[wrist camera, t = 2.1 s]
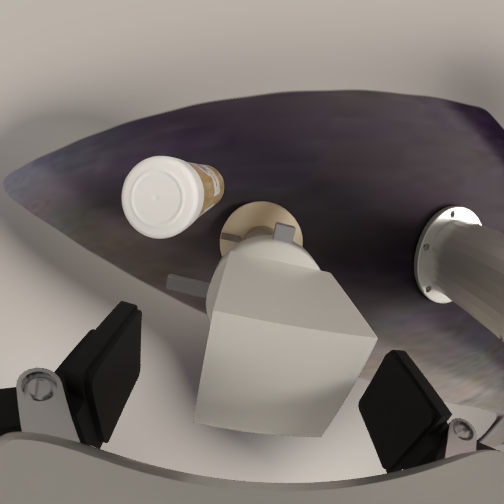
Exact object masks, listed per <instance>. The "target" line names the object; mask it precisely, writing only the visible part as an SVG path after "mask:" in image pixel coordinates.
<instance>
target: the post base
mask: <svg viewBox="0 0 504 504" xmlns="http://www.w3.org/2000/svg"><path fill="white" fill-rule="evenodd" d="M276 222H279V223H284V224H288V225H292V226H294V227H295V228H296V230H295V234H294V238H293V241H294V242H295V243H297V244H299V245H300V246H301V247H303V238H302V232H301V229H300V227H299V225H298V223H297V221H296V220H295V218H294V217H293V216H292V215H291V214H290V213H289V212H288V211H287V210H286V209H284V208H283V207H281V206H280V205H277V204H275V203H272V202H267V201H255V202H250V203H247V204H245V205H243V206H241V207H239V208H238V209H236V210H235V211H234V212H233V213H232V214H231V215H230V216H229V218H228V219H227V221H226V223H225V224H224V226H223V229H222V232H221V235H220V251H221V255H222V257H223V256H224V255H225V253H226V252H227V251H228V250H230V249H231V248H232V247H233V246H235V245H236V244H238V243H239V242H241V241H243V240H246V239H248V238H251V237H256V236H263V235H273V231H274V227H275V223H276Z"/></svg>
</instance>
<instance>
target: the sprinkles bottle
mask: <svg viewBox="0 0 504 504" xmlns="http://www.w3.org/2000/svg"><path fill="white" fill-rule="evenodd" d="M223 193H224V181H223V178H222V176H221V174H220V173H219V172H218V171H217V170H216V169H215V168H213V167H211V166H209V165H201V164H196V163H190V162H185V161H183V160H181V159H178V158H174V157H168V156H154V157H151V158H147V159H145V160H143V161H141V162H140V163H138V164H137V165H136V166H135V167H134V168H133V169H132V170H131V171H130V172H129V174H128V176H127V177H126V179H125V181H124V185H123V188H122V207H123V211H124V214H125V216H126V218H127V220H128V221H129V223H130V224H131V225H132V226H133V227H134V228H135V229H136V230H137V231H138V232H140V233H141V234H143V235H145V236H148V237H151V238H157V239H163V238H169V237H173V236H175V235H177V234H179V233H181V232H182V231H184V230H185V229H186V228H188V227H189V226H190V225H191V224H192V223H193V222H194V221H195V220H196V219H197V218H198V217H200V216H201V215H202V214H204V213H205V212H206V211H208V210H209V209H210V208H211V207H213V206H214V205H216V204H217V203H218V202H219V201H220V199H221V198H222V196H223Z"/></svg>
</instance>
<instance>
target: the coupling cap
mask: <svg viewBox="0 0 504 504" xmlns="http://www.w3.org/2000/svg"><path fill="white" fill-rule="evenodd" d="M295 230H296V228H295V227H294V226H292V225H288V224H284V223H279V222H276V223H275V227H274V231H273V235H263V236H256V237H251V238H248V239H246V240H243V241H241V242H239V243H238V244H236V245H235V246H233V247H232V248H231V249H230V250H228V251H227V252H226V253H225V255H224V256H223V257H222V258H221V260H220V262H219V263H218V265H217V267H216V270H215V272H214V275H213V277H212V280H211V283H208V282H204V281H200V280H195V279H191V278H187V277H183V276H178V275H174V274H169V275H168V276H167V282H166V289H168V290H172V291H176V292H180V293H184V294H188V295H192V296H196V297H201V298H205V299H206V311H207V316H208V319H209V322H210V330H209V335H208V341H207V346H206V351H205V357H204V362H203V368H202V374H201V380H200V386H199V392H198V397H197V403H196V409H195V415H194V423H199V424H203V425H208V426H213V427H219V428H225V429H231V430H238V431H244V432H252V433H260V434H270V435H281V436H297V437H321V436H322V435H323V433H324V432H325V430H326V429H327V428H328V426H329V424H330V423H331V421H332V420H333V418H334V417H335V415H336V414H337V412H338V411H339V409H340V407H341V406H342V404H343V402H344V401H345V399H346V397H347V396H348V394H349V392H350V391H351V389H352V387H353V385H354V384H355V382H356V380H357V378H358V376H359V375H360V373H361V371H362V369H363V367H364V365H365V363H366V361H367V359H368V358H369V356H370V354H371V352H372V350H373V348H374V345H375V343H376V341H377V339H378V338H377V336H376V335H375V333H374V332H373V330H372V329H371V328H370V326H369V325H368V323H367V322H366V321H365V319H364V318H363V316H362V315H361V314H360V312H359V311H358V309H357V308H356V307H355V305H354V304H353V302H352V301H351V300H350V298H349V297H348V296H347V294H346V293H345V292H344V290H343V289H342V288H341V286H340V285H339V283H338V282H337V281H336V279H335V278H334V277H333V276H332V274H331V273H329V272H325V271H321V270H320V268H319V267H318V266H317V264H316V263H315V261H314V260H313V258H312V257H311V255H310V254H309V253H308V252H307V251H306V250H305V249H304V248H303V247H301V246H300V245H299V244H297V243H295V242H294V241H293V238H294V234H295Z"/></svg>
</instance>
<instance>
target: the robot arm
mask: <svg viewBox="0 0 504 504" xmlns="http://www.w3.org/2000/svg"><path fill="white" fill-rule="evenodd" d="M414 273H415V278H416V282H417V285H418V287H419V289H420V290H421V292H422V293H423V294H424V295H425V296H426V297H427V298H429V299H430V300H432V301H434V302H437V303H448V302H451V301H453V302H455V303H456V304H457V305H458V306H460V307H461V308H462V309H464V310H465V311H466V312H468V313H469V314H470V315H471V316H473V317H474V318H475V319H476V320H478V321H479V322H480V323H481V324H483V325H484V326H485V327H486V328H488V329H489V330H490V331H491V332H492V333H494V334H495V335H496V336H497V337H498V338H500V339H501V340H502V341H503V342H504V233H502V232H499V231H496V230H493V229H490V228H487V227H484V226H482V225H481V223H480V221H479V219H478V217H477V216H476V215H475V214H474V212H472V211H471V210H469V209H468V208H465V207H461V206H456V205H455V206H448V207H446V208H443V209H442V210H440V211H439V212H437V213H436V214H435V215H434V216H433V217H432V218H431V219H430V220H429V222H428V223H427V225H426V226H425V227H424V229H423V231H422V233H421V235H420V238H419V241H418V244H417V247H416V252H415V258H414ZM141 317H142V312H141V311H140V310H138V309H137V306H136V305H134V304H130V303H127V302H124V301H121V302H120V303H119V304H118V305H117V306H116V307H115V308H114V309H113V310H112V312H111V313H110V314H109V315H108V316H107V317H106V318H105V320H104V321H103V322H102V323H101V324H100V325H99V326H98V327H97V329H96V330H94V329H93V330H90V331H89V332H88V333H87V335H86V336H85V337H84V338H83V339H82V340H81V341H80V342H79V344H78V345H77V346H76V347H75V348H74V349H73V351H72V352H71V353H70V354H69V355H68V356H67V358H66V359H65V360H64V361H63V362H62V364H61V365H60V366H59V367H58V368H57V370H56V371H55V372H52V371H50V370H48V369H44V368H33V369H29V370H27V371H25V372H24V373H22V374H21V375H20V377H19V378H18V380H17V386H16V387H14V388H5V389H0V504H504V453H503V452H501V451H499V450H496V449H493V448H491V447H489V446H486V445H484V444H482V443H479V442H477V441H476V431H475V429H474V427H473V426H472V425H471V424H470V423H469V422H468V421H466V420H464V419H461V418H455V419H453V420H452V421H451V422H450V423H449V424H447V420H448V419H449V418H450V417H451V415H452V413H451V412H450V411H449V409H448V408H447V406H446V405H445V404H444V402H443V401H442V399H441V398H440V397H439V395H438V394H437V392H436V391H435V390H434V388H433V387H432V386H431V384H430V383H429V382H428V380H427V379H426V378H425V376H424V375H423V374H422V372H421V371H420V370H419V368H418V367H417V366H416V364H415V363H414V362H413V361H412V359H411V358H410V357H409V355H408V354H407V353H406V352H405V351H401V350H391V351H390V352H389V353H388V354H386V355H385V357H384V359H383V361H382V363H381V365H380V366H379V368H378V370H377V372H376V374H375V375H374V377H373V379H372V381H371V382H370V384H369V386H368V388H367V389H366V391H365V393H364V394H363V396H362V398H361V399H360V401H359V405H358V406H359V410H360V413H361V415H362V417H363V420H364V422H365V425H366V427H367V430H368V432H369V434H370V437H371V439H372V442H373V444H374V447H375V449H376V452H377V454H378V457H379V459H380V462H381V464H382V467H383V468H384V469H386V472H387V474H382V475H377V476H371V477H365V478H358V479H351V480H341V481H330V482H315V483H262V482H246V481H235V480H227V479H219V478H212V477H205V476H199V475H193V474H189V473H184V472H179V471H174V470H170V469H165V468H161V467H157V466H153V465H149V464H145V463H142V462H139V461H135V460H132V459H129V458H126V457H123V456H120V455H116V454H113V453H110V452H107V451H104V450H101V449H100V447H101V445H102V443H103V442H105V443H108V441H109V439H110V437H111V435H112V433H113V430H114V428H115V426H116V424H117V421H118V419H119V417H120V415H121V413H122V411H123V408H124V406H125V404H126V402H127V400H128V398H129V396H130V393H131V391H132V389H133V387H134V385H135V383H136V381H137V379H138V377H139V373H140V351H141V349H140V348H141ZM90 445H91V446H90ZM92 446H93V447H92ZM95 447H96V448H95ZM402 469H403V470H402Z"/></svg>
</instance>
